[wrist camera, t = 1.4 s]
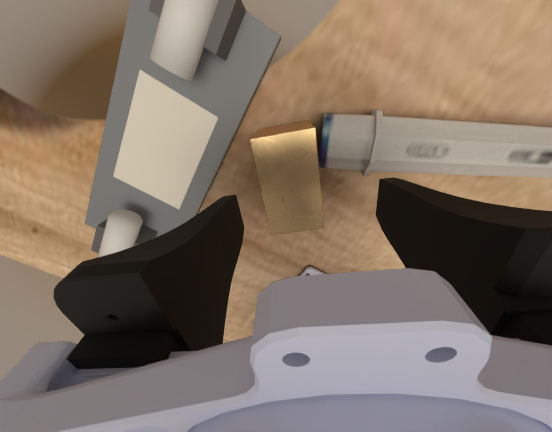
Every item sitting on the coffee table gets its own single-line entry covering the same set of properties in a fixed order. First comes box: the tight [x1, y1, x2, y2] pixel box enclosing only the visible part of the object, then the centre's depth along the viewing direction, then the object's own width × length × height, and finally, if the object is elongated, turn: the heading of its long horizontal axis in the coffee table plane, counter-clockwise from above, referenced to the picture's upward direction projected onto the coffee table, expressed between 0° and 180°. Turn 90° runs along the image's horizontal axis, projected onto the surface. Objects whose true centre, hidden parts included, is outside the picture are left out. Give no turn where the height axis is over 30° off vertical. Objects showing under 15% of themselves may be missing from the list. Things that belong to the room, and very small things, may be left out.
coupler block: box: [250, 120, 324, 235], centre depth 17 cm, size 7×4×5 cm, turn 10°
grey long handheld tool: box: [318, 110, 552, 178], centre depth 16 cm, size 5×7×25 cm
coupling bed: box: [85, 0, 281, 257], centre depth 17 cm, size 22×9×5 cm, turn 149°
